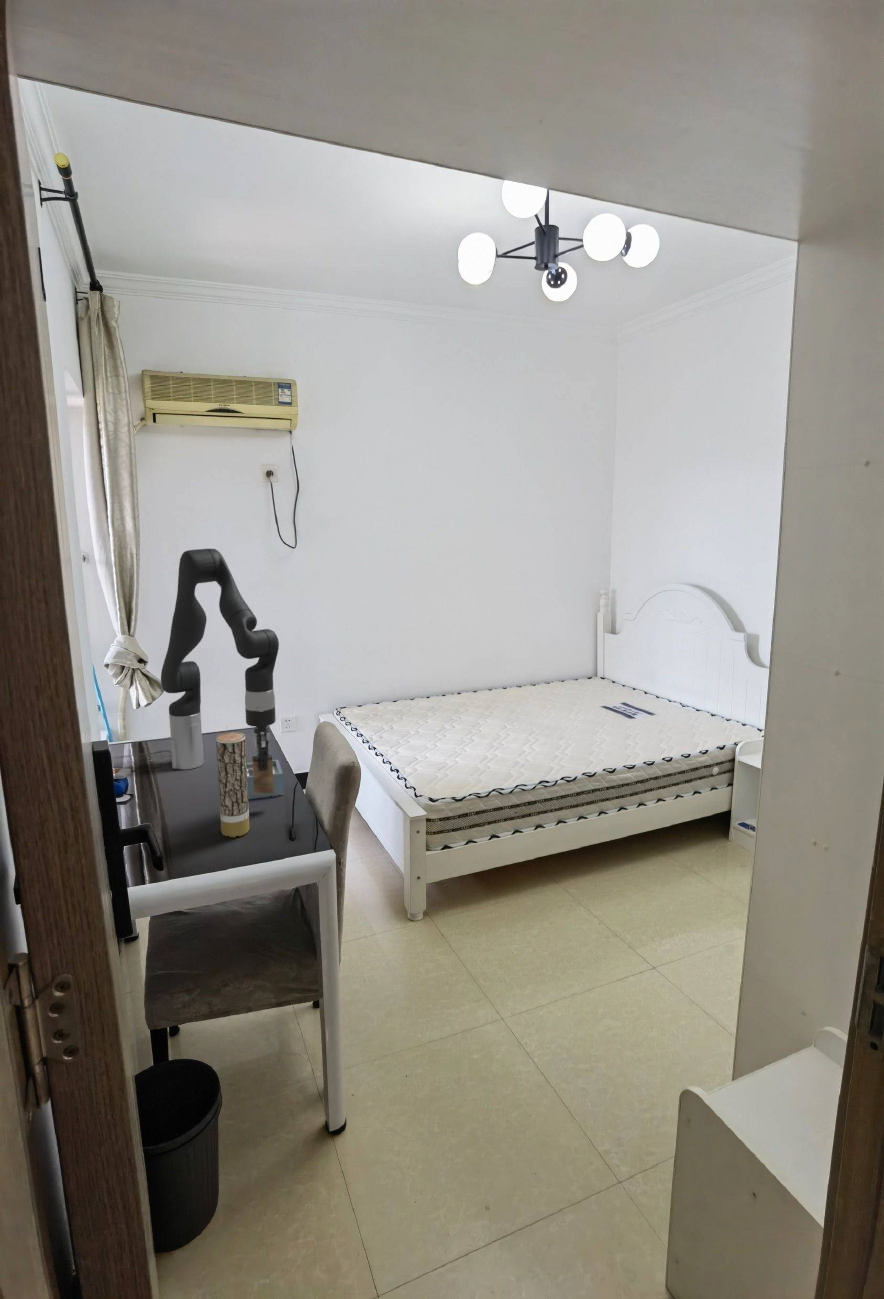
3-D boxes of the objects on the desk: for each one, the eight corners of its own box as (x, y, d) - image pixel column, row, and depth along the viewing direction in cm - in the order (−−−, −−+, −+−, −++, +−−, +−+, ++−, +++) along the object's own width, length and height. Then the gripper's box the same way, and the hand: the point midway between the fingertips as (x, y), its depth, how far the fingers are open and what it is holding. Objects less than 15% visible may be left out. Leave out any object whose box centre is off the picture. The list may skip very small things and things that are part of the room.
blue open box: (239, 800, 190) (238, 775, 189) (237, 784, 201) (236, 760, 200) (283, 795, 194) (282, 770, 193) (279, 780, 205) (278, 756, 204)
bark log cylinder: (224, 840, 166) (218, 742, 162) (219, 829, 172) (213, 734, 168) (252, 835, 170) (247, 738, 165) (246, 824, 176) (241, 731, 171)
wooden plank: (254, 794, 181) (252, 759, 179) (253, 791, 183) (252, 756, 181) (273, 792, 183) (272, 757, 181) (273, 789, 185) (271, 754, 183)
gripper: (243, 700, 183) (246, 761, 187) (247, 714, 171) (249, 779, 174) (272, 697, 186) (274, 758, 189) (277, 711, 173) (279, 776, 176)
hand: (262, 768), depth 182 cm, fingers closed on wooden plank, 2 cm apart
